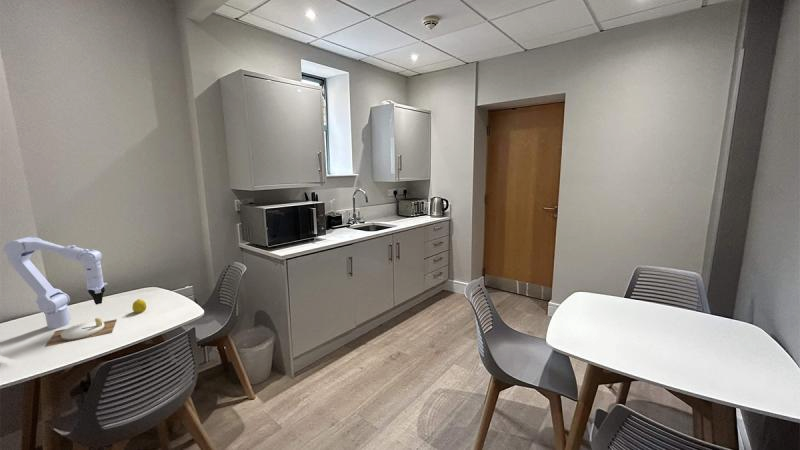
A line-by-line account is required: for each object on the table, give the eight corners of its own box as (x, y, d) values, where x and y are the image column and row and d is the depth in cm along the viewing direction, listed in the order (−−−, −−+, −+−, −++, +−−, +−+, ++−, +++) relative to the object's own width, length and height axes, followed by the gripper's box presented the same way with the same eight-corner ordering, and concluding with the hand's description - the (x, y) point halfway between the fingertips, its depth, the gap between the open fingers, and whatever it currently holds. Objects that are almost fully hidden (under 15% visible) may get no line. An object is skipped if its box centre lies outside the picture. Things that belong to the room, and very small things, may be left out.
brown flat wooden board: (56, 333, 146) (55, 330, 146) (117, 322, 158) (116, 318, 158) (44, 350, 133) (44, 346, 133) (112, 336, 145) (111, 332, 145)
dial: (55, 342, 136) (53, 331, 135) (68, 328, 148) (66, 318, 147) (99, 335, 143) (97, 324, 142) (108, 321, 155) (107, 311, 154)
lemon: (139, 316, 164) (137, 301, 162) (130, 315, 165) (128, 301, 163) (150, 312, 169) (148, 297, 168) (141, 311, 170) (139, 296, 169)
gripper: (107, 277, 150) (112, 305, 152) (103, 270, 160) (107, 297, 162) (86, 281, 145) (91, 310, 147) (83, 274, 154) (88, 301, 157)
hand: (98, 303), depth 154 cm, fingers closed
